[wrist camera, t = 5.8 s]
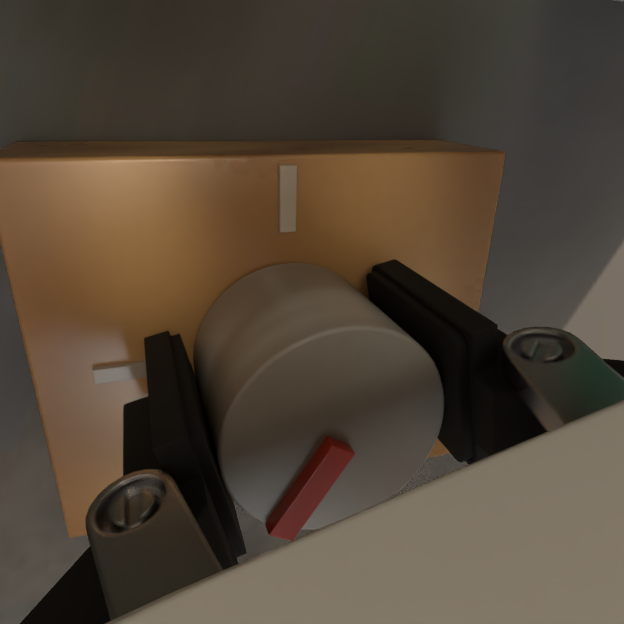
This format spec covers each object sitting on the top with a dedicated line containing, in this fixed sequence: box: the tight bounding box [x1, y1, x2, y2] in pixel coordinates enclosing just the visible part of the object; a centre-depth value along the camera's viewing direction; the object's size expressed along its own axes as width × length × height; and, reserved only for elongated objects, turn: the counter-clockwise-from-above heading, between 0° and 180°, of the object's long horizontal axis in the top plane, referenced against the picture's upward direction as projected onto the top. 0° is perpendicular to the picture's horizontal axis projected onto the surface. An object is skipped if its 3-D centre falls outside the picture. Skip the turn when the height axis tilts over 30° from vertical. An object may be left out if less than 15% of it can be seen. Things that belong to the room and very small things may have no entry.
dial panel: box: [0, 140, 506, 538], centre depth 13 cm, size 11×9×3 cm
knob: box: [193, 263, 445, 541], centre depth 10 cm, size 4×4×4 cm
